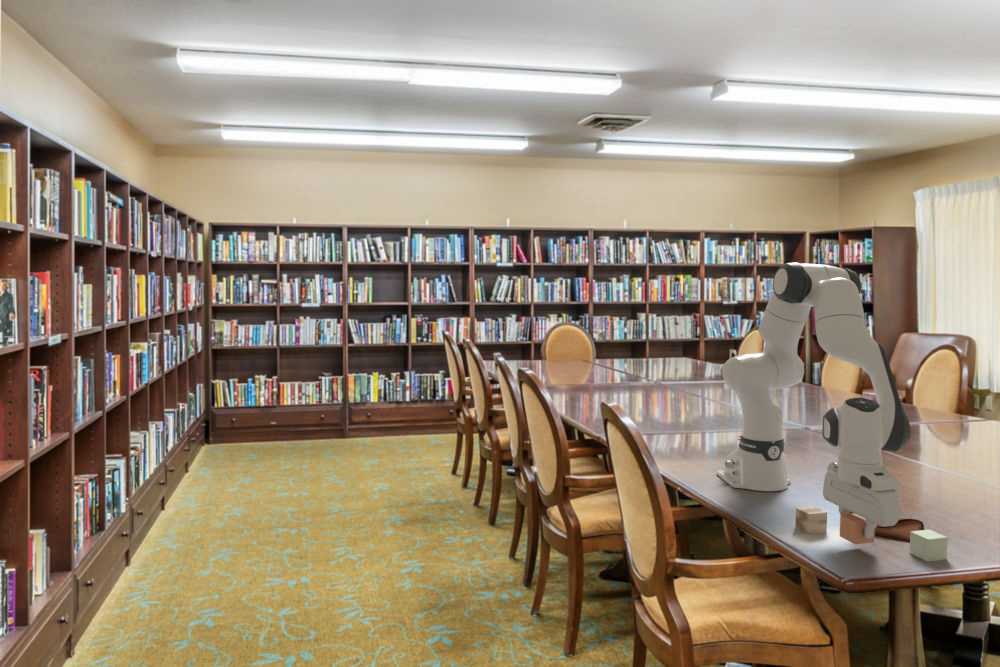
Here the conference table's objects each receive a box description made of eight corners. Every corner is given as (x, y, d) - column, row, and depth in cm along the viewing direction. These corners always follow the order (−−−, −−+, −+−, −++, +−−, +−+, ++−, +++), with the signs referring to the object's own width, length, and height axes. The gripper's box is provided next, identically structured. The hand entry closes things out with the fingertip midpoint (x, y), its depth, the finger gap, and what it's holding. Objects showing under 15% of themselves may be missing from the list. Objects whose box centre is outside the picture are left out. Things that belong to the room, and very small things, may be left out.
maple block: (795, 527, 181) (795, 507, 181) (813, 525, 183) (813, 505, 182) (808, 534, 177) (809, 514, 176) (826, 532, 178) (827, 512, 177)
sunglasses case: (837, 529, 179) (839, 502, 181) (840, 536, 184) (843, 510, 187) (922, 544, 169) (924, 515, 172) (923, 551, 175) (925, 523, 177)
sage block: (909, 553, 164) (910, 531, 164) (928, 551, 166) (929, 529, 165) (927, 561, 160) (928, 539, 159) (946, 559, 161) (947, 537, 160)
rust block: (839, 536, 168) (840, 514, 168) (858, 534, 170) (859, 513, 169) (854, 544, 164) (855, 522, 163) (874, 542, 165) (875, 520, 164)
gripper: (817, 460, 174) (815, 517, 176) (880, 486, 155) (877, 550, 156) (840, 459, 176) (838, 515, 177) (906, 483, 156) (903, 547, 157)
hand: (857, 532), depth 166 cm, fingers closed on rust block, 5 cm apart
